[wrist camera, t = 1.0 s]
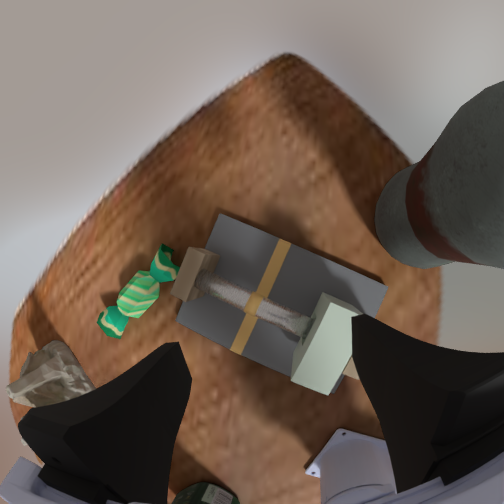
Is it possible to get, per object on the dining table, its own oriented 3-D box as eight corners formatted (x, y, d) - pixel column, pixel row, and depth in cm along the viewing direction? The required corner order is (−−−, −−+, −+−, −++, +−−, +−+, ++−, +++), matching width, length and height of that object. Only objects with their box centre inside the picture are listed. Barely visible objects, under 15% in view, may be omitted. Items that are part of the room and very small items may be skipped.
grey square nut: (351, 304, 24) (369, 319, 17) (322, 364, 24) (328, 395, 18) (322, 291, 25) (330, 302, 18) (293, 352, 25) (290, 380, 18)
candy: (162, 239, 29) (160, 254, 25) (185, 259, 30) (186, 276, 27) (101, 308, 30) (94, 328, 27) (123, 324, 32) (119, 345, 28)
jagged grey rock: (65, 329, 32) (-19, 356, 17) (125, 429, 31) (60, 485, 16) (30, 360, 35) (-32, 383, 20) (78, 439, 33) (25, 477, 19)
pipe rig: (385, 286, 26) (404, 291, 20) (332, 389, 26) (338, 415, 21) (222, 214, 29) (204, 203, 23) (179, 319, 29) (154, 330, 24)
